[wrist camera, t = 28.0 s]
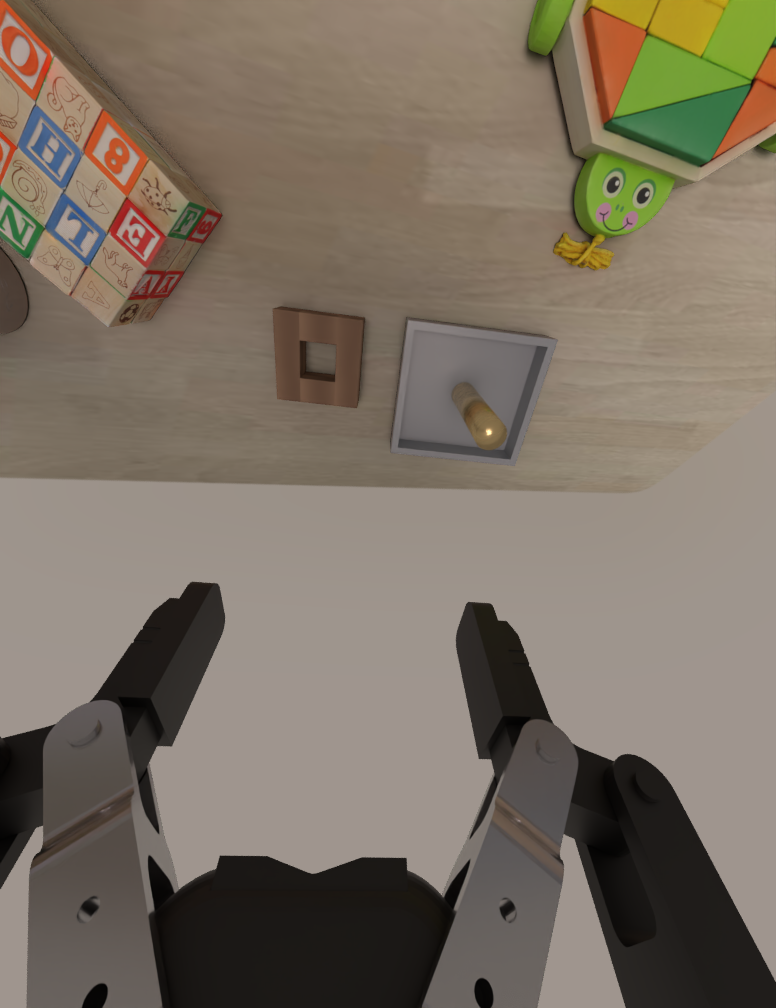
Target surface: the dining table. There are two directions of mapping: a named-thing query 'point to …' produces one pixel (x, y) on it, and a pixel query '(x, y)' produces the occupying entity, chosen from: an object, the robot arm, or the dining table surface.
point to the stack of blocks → (88, 179)
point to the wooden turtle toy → (655, 100)
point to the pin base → (291, 356)
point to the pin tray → (473, 359)
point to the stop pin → (479, 417)
